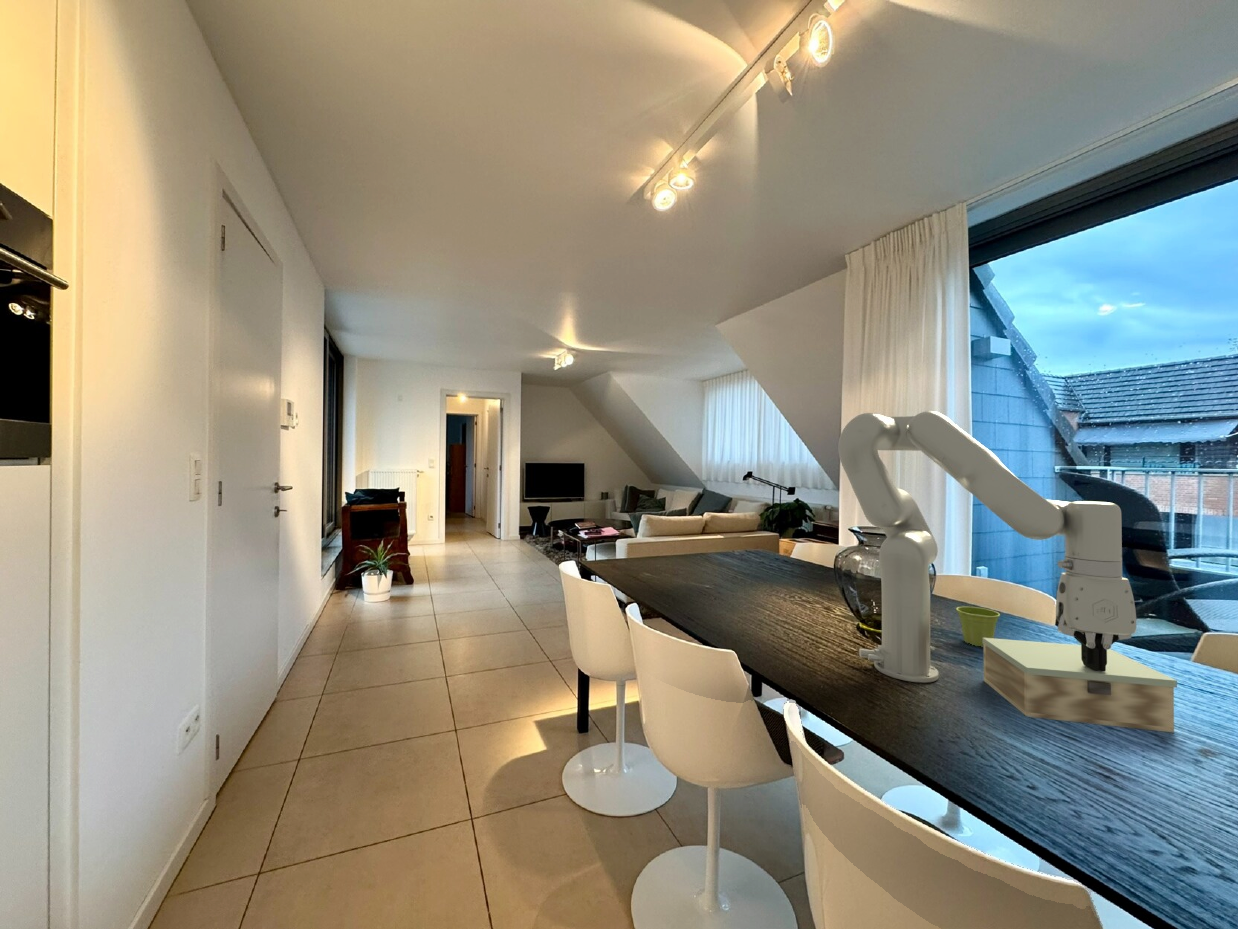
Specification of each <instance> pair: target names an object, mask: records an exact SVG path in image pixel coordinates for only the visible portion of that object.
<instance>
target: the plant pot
mask: <svg viewBox="0 0 1238 929" xmlns="http://www.w3.org/2000/svg"><path fill="white" fill-rule="evenodd" d="M955 610H956V612H957V613H958V617H959V619H960V624H961V630H962V637H963V642H964V641H965V642H964V643H966V644H968V643H970V644H972V645H971V646H973V645H975V646H974V647H977V646H981V647H980V648H984V644H983V638H994V639H995V632H996V626H997V622H998V620H999V617H1000V616H1001V614H1000V613H999V612H998V611H995V610H992V609H987V608H985V607H984V608H983V607H978V606H977V607H976V606H957V607H956V609H955ZM970 644H969V645H970Z"/></svg>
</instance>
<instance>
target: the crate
mask: <svg viewBox="0 0 1238 929" xmlns="http://www.w3.org/2000/svg"><path fill="white" fill-rule="evenodd" d="M983 682H985V684H987V685H989V687H991V688H992V689H993V690H994V691H995V692H997V693H998V694H999V695H1000V696H1001V697H1003V698H1004V699H1005V700H1007V701H1008V702H1009V703H1010V704H1011V705H1013V707H1015V708H1016V709H1017V710H1019V711H1020V712H1021V713H1022V714H1023V715H1025V716H1026V717H1028V718H1036V719H1046V720H1055V721H1065V722H1066V721H1067V722H1073V723H1083V724H1093V725H1101V726H1112V727H1119V728H1127V729H1128V728H1130V729H1137V730H1139V729H1140V730H1147V731H1159V732H1167V733H1175V712H1174V711H1175V710H1174V709H1175V698H1174V697H1175V696H1174V694H1175V692H1174V691H1175V690H1174V689H1175V687H1165V686H1154V685H1143V684H1132V683H1120V682H1109V681H1098V680H1087V679H1076V678H1065V677H1054V676H1043V675H1032V674H1026V673H1025V672H1023V671H1022V670H1020V669H1019V668H1017V667H1016V666H1015V665H1013V664H1012V663H1010V662H1009V661H1007V660H1006V659H1005V658H1003V657H1002V656H1000V655H999V654H997V653H996V652H995V651H993V650H992V649H990V648H989V647H987V646H986V645H985V644H984V647H983Z"/></svg>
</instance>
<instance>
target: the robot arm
mask: <svg viewBox="0 0 1238 929" xmlns="http://www.w3.org/2000/svg"><path fill="white" fill-rule="evenodd" d="M837 444H838V446H837V449H838V450H837V451H838V457H839V460H840V463H841V466H842V468H843V469H844V472H845V474H846V476H847V478H848V481H849V482H850V485H851V488H852V489H853V492H854V495H855V496H856V499H857V501H858V503H859V505H860V507H861V510H862V511H863V515H864V517H865V518H866V520H867V521H868V522H869V523H870V524H871V525H872V526H874V527H876V528H880V529H882V530H883V532H884V535H885V536H886V538H885V539H884V540H883V542H882V543H881V546H880V548H879V554H878V561H879V562H878V564H879V570H880V580H881V644H878V645H877V648H873V649H868V648H859V649H858V656H859V657H860V658H865V659H867V660H868V661H870V662H871V661H872V662H874V663H873V664H874V665H873V666H874V668H875V669H876V670H877V671H879V672H880V673H882V674H884V675H886V676H888V677H890V678H894V679H898V680H902V681H905V682H913V683H932V682H935V681H938V680H939V678H940V672H939V670H938V669H937V668H935V666H934V665H931V585H930V582H931V581H930V572H929V568H930V567H929V566H930V565H932V564H933V563H934V561H935V560H936V559H937V556H938V544H937V541H936V539H935V537H934V535H933V533H932V530H931V529H930V527H929V526H928V525H929V524H928V523H927V521H926V519H925V517H924V516H923V513H922V512H921V509H920V507H919V506H918V504H917V502H916V500H915V499H914V498H913V497H912V495H911V494H910V493H909V492H908V491H906V490H904V489H901V488H899V487H896V485H895V483H894V481H893V479H892V477H891V475H890V473H889V471H888V469H887V467H886V465H885V463H884V462H883V460H882V459H881V458H880V454H879V452H878V451H907V452H909V451H910V452H911V451H913V452H914V451H917V452H918V451H920V452H922V453H923V454H924V455H925V456H927V457H928V458H929V459H930V460H931V461H932V462H934V463H935V464H936V465H938V466H939V467H940V468H941V469H942V470H943V471H944V472H946V473H947V474H948V475H950V476H951V478H953V479H954V480H955V481H956V482H958V483H959V485H961V486H962V488H964V489H965V490H967V491H968V492H969V493H970V494H972V495H973V496H974V497H975V498H976V499H977V500H978V501H979V502H981V504H983V505H984V506H985V507H986V508H987V509H988V510H989V511H991V513H993V514H994V515H995V516H997V517H998V518H999V519H1000V520H1001V521H1003V522H1004V523H1005V524H1006V525H1007V526H1008V527H1009V528H1011V529H1012V530H1013V531H1015V532H1016V533H1018V534H1019V535H1021V536H1022V537H1024V538H1027V539H1031V540H1034V541H1036V540H1037V541H1038V540H1039V541H1041V540H1048V539H1051V538H1053V537H1055V536H1064V551H1065V552H1064V553H1065V554H1064V555H1065V556H1064V557H1063V560H1058V561H1057V566H1058V568H1060V569H1064V571H1065V572H1061V573H1060V574H1061V575H1060V577H1059V580H1058V586H1057V591H1056V601H1055V602H1056V604H1055V617H1056V621H1057V622H1058V625H1057V631H1058V632H1059V633H1061V634H1063V635H1067V636H1069V637H1073V638H1074V640H1075V639H1076V641H1077V643H1079V644H1080V645H1081V659H1082V662H1083V664H1084V665H1085V666H1087V667H1088V668H1090V669H1092V670H1094V671H1098V670H1100V671H1106V665H1107V650H1108V649H1111V648H1112V645H1113V644H1115V643H1116V642H1117V641H1120V640H1128V639H1129V640H1130V639H1131V638H1132V635H1134V634H1135V633H1136V632H1137V625H1138V623H1137V611H1136V605H1135V599H1134V594H1133V590H1132V587H1131V583H1130V580H1129V579H1128V578H1126V577H1123V547H1122V546H1123V545H1122V543H1123V540H1122V538H1123V535H1122V530H1123V529H1122V524H1123V523H1122V521H1123V520H1122V510H1121V508H1120V506H1119V505H1118V504H1116V503H1113V502H1107V501H1093V500H1083V501H1082V500H1077V501H1062V500H1054V499H1047V498H1044V497H1043V496H1042V495H1040V494H1039V493H1038V492H1036V490H1034V489H1032V488H1031V487H1030V486H1028V484H1026V483H1025V482H1023V481H1022V480H1021V479H1020V478H1018V477H1017V476H1016V475H1015V474H1014V473H1013V472H1011V471H1010V470H1009V469H1008V468H1007V467H1006V466H1005V465H1004V464H1003V463H1002V461H1001V460H1000V458H999V457H998V456H997V455H996V454H995V453H993V452H992V451H991V450H990V449H989V448H987V447H986V446H984V445H983V444H981V442H979V441H978V440H976V439H975V438H974V437H972V436H971V434H969V433H967V432H966V431H965V430H964V429H963V428H961V427H959V426H958V425H957V424H955V423H954V421H953V420H952V419H951V418H950V417H948V416H947V415H944V414H942V413H940V412H939V411H933V410H926V411H923V412H920V413H917V414H915V416H914V415H912V416H908V415H907V416H885V415H882V414H879V413H876V412H865V413H861V414H858V415H856V416H855V417H853V418H852V419H851V420H849V421H848V423H847V424H846V425H845V427H844V428H843V429H842V432H841V434H840V436H839V439H838V443H837Z"/></svg>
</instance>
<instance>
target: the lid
mask: <svg viewBox="0 0 1238 929" xmlns="http://www.w3.org/2000/svg"><path fill="white" fill-rule="evenodd" d="M983 644H985V645H986V646H987V647H989V648H990V649H992V650H993V651H995V652H996V653H997V654H999V655H1000V656H1002V657H1003V658H1005V659H1006V660H1007V661H1009V662H1010V663H1012V664H1013V665H1015V666H1016V667H1017V668H1019V669H1020V670H1022V671H1023V672H1025V673H1026V674H1032V675H1043V676H1054V677H1065V678H1076V679H1087V680H1098V681H1109V682H1120V683H1132V684H1143V685H1154V686H1165V687H1174V688H1176V689H1177V688H1178V680H1177V679H1175V678H1172V677H1170V676H1168V675H1166V674H1164V673H1162V672H1159V671H1158V670H1155V669H1153V668H1151V667H1149V666H1147V665H1145V664H1143V663H1140V662H1139V661H1136V660H1134V659H1132V658H1130V657H1128V656H1126V655H1124V654H1122V653H1120V652H1117V651H1116V650H1113V649H1111V648H1110V649H1108V650H1107V665H1106V671H1100V670H1098V671H1094V670H1092V669H1090V668H1088V667H1087V666H1085V665H1084V664H1083V662H1082V659H1081V644H1071V643H1060V642H1059V643H1057V642H1056V643H1055V642H1045V641H1044V642H1043V641H1031V640H1019V639H1018V640H1017V639H1016V640H1015V639H1006V638H995V637H994V638H983Z"/></svg>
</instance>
